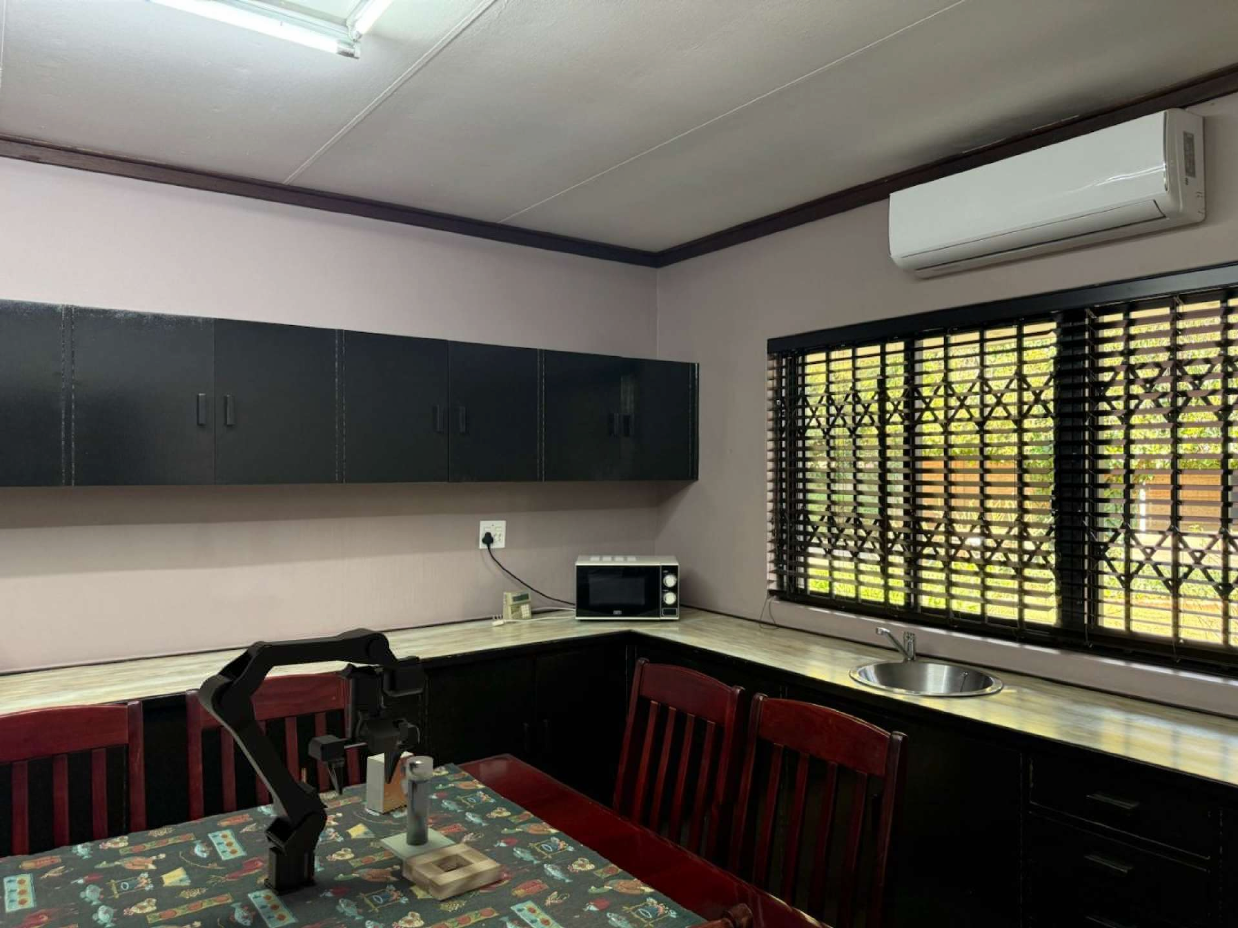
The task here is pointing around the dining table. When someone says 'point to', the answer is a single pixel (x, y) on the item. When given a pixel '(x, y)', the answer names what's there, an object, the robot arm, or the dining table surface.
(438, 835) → the pad
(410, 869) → the socket block
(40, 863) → the dining table surface
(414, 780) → the dome-ended metal peg
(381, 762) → the small box
